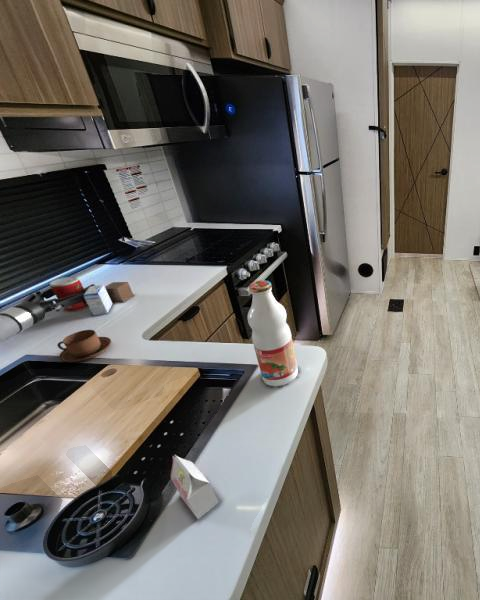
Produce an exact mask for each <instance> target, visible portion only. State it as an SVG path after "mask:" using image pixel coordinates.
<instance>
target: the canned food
mask: <svg viewBox="0 0 480 600" xmlns="http://www.w3.org/2000/svg"><path fill="white" fill-rule="evenodd" d="M49 287H50V288H52V290H53V292H54V293H55V297H56V299H59V298H63V297H66V296H70V295H73V294H77V293H78V292H79V291H81V290H82V289H84V288H85V287H84V285H83V284H82V282H81V280H80V279H79V277H78V276H66V277H65V276H64V277H61V278H58V279H55V280H53V281H51V282H50V283H49ZM87 307H89V306H88V304H87V302H86V301H83V302H81V303H78V304H75V305H73V306H70V307H68V308H65V309H63V310H64V311H66V312H75V311H79V310H83V309H85V308H87Z"/></svg>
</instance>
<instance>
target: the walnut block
mask: <svg viewBox="0 0 480 600" xmlns="http://www.w3.org/2000/svg"><path fill="white" fill-rule="evenodd" d="M104 286H105V285H104ZM105 288H106V290H107V293H108V295H109V297H110V299H111V301H112V303H124V302H126V301H127V300H129V299H130V298H132V297H134V292H133V291H132V289H131V286H130V283H129V282H128V281H112V282H111V283H109V284H107V285H106V286H105Z"/></svg>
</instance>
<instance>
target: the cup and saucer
mask: <svg viewBox="0 0 480 600" xmlns="http://www.w3.org/2000/svg"><path fill="white" fill-rule="evenodd" d="M62 344H63V345H64V347H63V346H61V345H62ZM111 344H112V340H111V338H110V337H107V336H98V334H97V332H96V330H94V329H85V330H84V329H82V330H80V331H76V332H73V333H71V334H69V335H67V336H66V337H65V338H64V339H63V340H61V341H59V342H58V343H57V348H58V349H59V350H61V352H60V354H59V356H58V358H59V359H60V360H61V361H63V362H66V363H77V362H83V361H87V360H90V359H93V358H95V357H97V356H99V355H101V354H103V353H104V352H106V350H108V349H109V347H110V346H111Z"/></svg>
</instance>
